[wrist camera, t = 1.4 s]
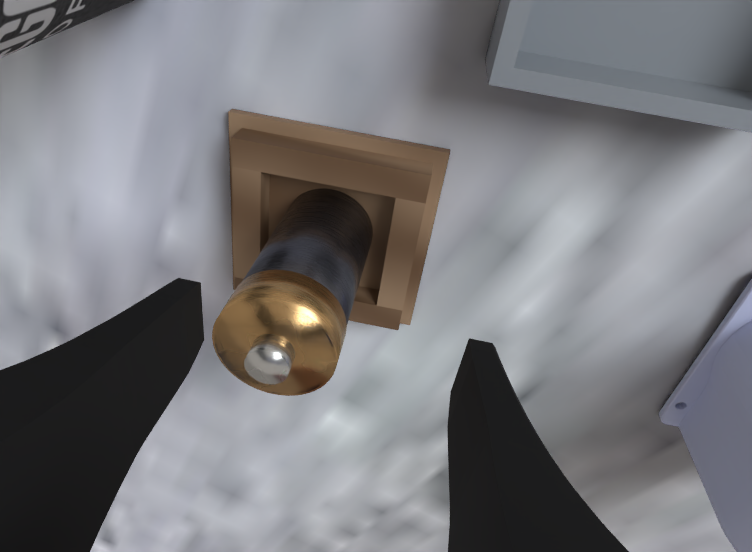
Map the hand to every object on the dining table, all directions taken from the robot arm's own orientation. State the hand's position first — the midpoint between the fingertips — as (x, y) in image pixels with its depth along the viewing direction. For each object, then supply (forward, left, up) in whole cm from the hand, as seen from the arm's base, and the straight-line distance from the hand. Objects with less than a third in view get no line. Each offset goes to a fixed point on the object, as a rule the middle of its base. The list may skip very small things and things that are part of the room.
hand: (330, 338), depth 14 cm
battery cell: (-3, +2, -10) cm, 10 cm away
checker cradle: (-3, +2, -10) cm, 10 cm away
